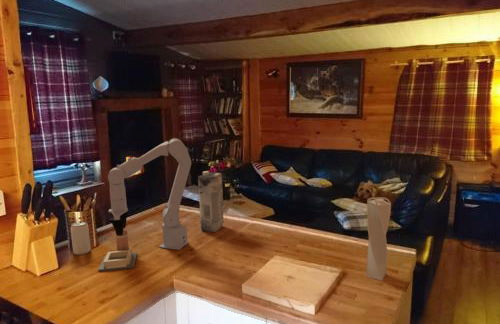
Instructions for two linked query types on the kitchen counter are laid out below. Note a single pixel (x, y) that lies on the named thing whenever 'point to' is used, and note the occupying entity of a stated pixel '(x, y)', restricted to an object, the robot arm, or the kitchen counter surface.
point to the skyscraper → (377, 237)
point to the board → (118, 260)
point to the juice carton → (210, 201)
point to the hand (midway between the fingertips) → (121, 231)
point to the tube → (122, 241)
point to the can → (80, 238)
